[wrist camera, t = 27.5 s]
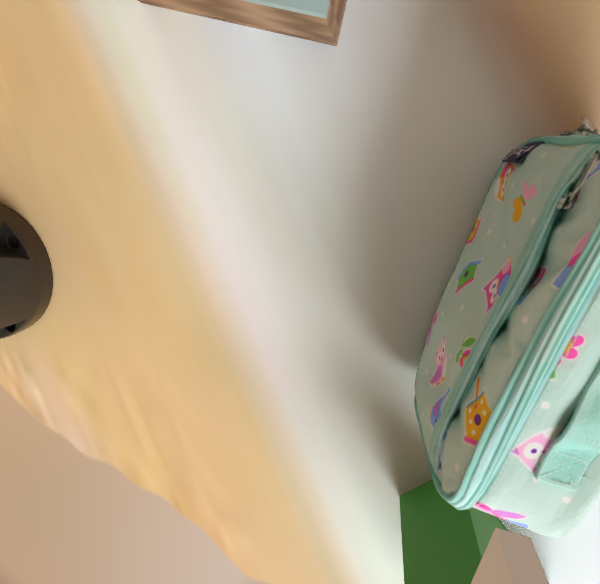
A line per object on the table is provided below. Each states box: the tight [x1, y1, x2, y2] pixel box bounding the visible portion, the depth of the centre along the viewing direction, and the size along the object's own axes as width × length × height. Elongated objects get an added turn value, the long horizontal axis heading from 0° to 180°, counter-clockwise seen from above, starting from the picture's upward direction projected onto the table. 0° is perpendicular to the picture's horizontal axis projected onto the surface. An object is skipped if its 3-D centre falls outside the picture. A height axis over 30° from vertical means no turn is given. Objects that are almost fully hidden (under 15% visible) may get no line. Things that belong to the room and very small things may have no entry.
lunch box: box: [414, 117, 600, 538], centre depth 35 cm, size 27×10×21 cm, turn 164°
